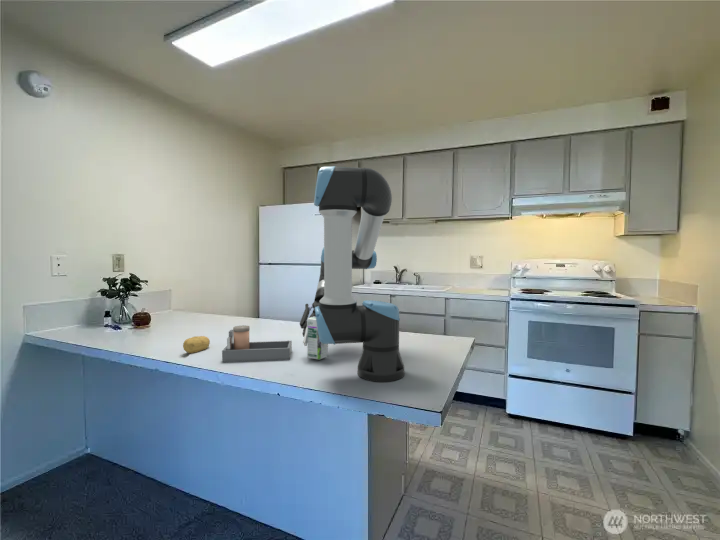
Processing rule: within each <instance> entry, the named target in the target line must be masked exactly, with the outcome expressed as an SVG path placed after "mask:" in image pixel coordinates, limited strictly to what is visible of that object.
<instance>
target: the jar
mask: <svg viewBox="0 0 720 540" xmlns="http://www.w3.org/2000/svg"><path fill="white" fill-rule="evenodd" d="M232 330H233V331H234V350H241V349H250V342H251V341H250V325H236V326H233V328H232Z"/></svg>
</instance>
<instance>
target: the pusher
mask: <svg viewBox="0 0 720 540" xmlns="http://www.w3.org/2000/svg"><path fill="white" fill-rule="evenodd" d="M226 346H227V350H234V331H233V329H230V330H229V331H228V337H227V338H226Z"/></svg>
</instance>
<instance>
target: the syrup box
mask: <svg viewBox="0 0 720 540" xmlns="http://www.w3.org/2000/svg"><path fill="white" fill-rule="evenodd" d="M309 317H310V316H309ZM309 317H308V318H307V346H306V348H307V353H306V354H307V358H308V359H314V360H320V361H321V360H322V359H325V358H326V357H328V356H329V346H328V347H325V344H323V343H321V342H320V340H319V335H318V329H317V322H316V317H310V318H309Z"/></svg>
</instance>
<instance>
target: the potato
mask: <svg viewBox="0 0 720 540" xmlns="http://www.w3.org/2000/svg"><path fill="white" fill-rule="evenodd" d="M210 342H211V341H210V338H209V337H208V336H205V335H200V336H198V335H197V336H192V337H189V338H187V339H185V340H184V342H183V344H182V347H183V350H184V351H185V352H186V353H188V354H195V353H198V352H202V351H203V350H206V349H208V348H209V346H210V344H211V343H210Z"/></svg>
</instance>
